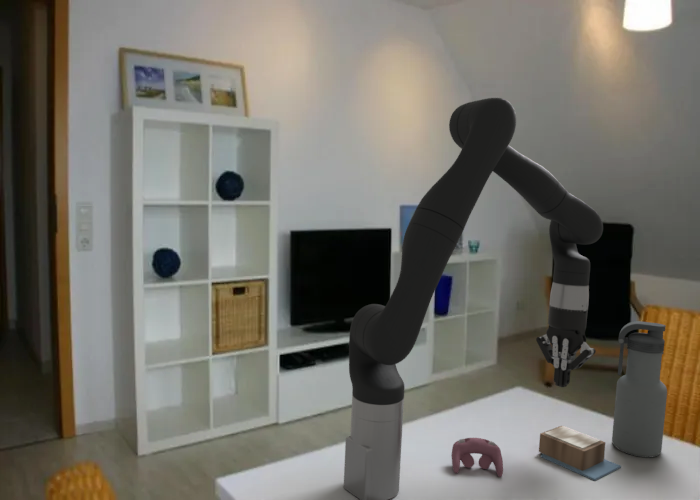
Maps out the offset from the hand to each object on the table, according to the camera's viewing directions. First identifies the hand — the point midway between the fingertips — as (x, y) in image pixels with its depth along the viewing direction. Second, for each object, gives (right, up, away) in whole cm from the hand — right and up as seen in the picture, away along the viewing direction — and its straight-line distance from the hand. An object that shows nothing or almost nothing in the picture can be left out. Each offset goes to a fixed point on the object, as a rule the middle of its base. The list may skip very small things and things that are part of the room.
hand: (561, 385), depth 120 cm
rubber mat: (+3, -15, -3) cm, 16 cm away
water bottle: (+18, -15, +5) cm, 24 cm away
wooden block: (-1, -12, +2) cm, 12 cm away
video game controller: (-20, -15, -8) cm, 26 cm away
